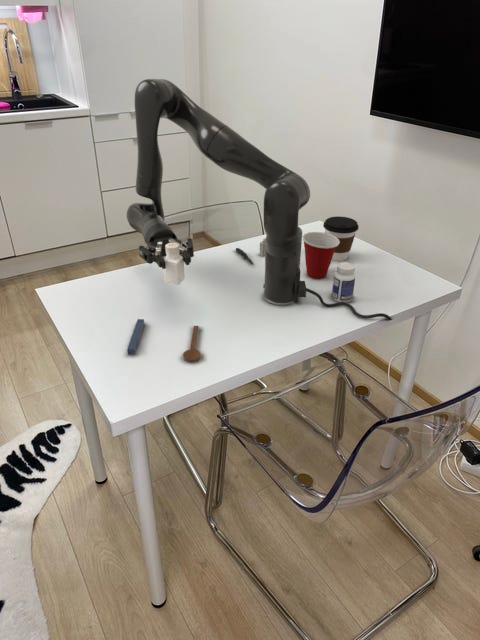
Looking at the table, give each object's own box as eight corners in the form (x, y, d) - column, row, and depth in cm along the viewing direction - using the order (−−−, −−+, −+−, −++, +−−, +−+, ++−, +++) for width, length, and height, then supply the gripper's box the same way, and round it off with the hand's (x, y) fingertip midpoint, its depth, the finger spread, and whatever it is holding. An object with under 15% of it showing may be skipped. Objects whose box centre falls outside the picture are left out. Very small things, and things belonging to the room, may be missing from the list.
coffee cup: (357, 264, 154) (362, 228, 148) (322, 264, 154) (326, 228, 148) (350, 250, 163) (355, 216, 157) (318, 250, 163) (321, 215, 157)
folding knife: (254, 267, 152) (254, 261, 151) (251, 267, 152) (251, 261, 151) (237, 251, 162) (237, 245, 161) (234, 251, 162) (234, 246, 161)
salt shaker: (163, 283, 119) (160, 247, 114) (171, 276, 122) (168, 240, 117) (178, 286, 118) (176, 249, 113) (185, 278, 121) (183, 243, 116)
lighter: (262, 256, 159) (263, 233, 154) (259, 254, 160) (259, 231, 155) (278, 250, 163) (279, 227, 158) (274, 248, 164) (275, 226, 159)
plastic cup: (334, 285, 142) (339, 247, 136) (297, 281, 144) (300, 243, 138) (336, 269, 151) (340, 232, 145) (301, 265, 153) (304, 229, 147)
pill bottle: (354, 295, 137) (359, 263, 132) (349, 305, 132) (354, 272, 127) (334, 291, 139) (338, 259, 134) (328, 300, 134) (332, 267, 129)
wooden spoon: (204, 328, 122) (204, 325, 122) (200, 362, 110) (199, 359, 110) (188, 328, 122) (188, 325, 122) (182, 362, 110) (182, 359, 110)
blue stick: (144, 324, 123) (144, 319, 123) (134, 354, 112) (134, 349, 112) (138, 324, 123) (137, 319, 123) (127, 354, 112) (127, 349, 112)
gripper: (130, 226, 124) (144, 253, 110) (184, 219, 128) (204, 244, 115) (133, 254, 128) (147, 282, 114) (186, 246, 132) (205, 272, 119)
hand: (176, 263), depth 115 cm, fingers closed on salt shaker, 5 cm apart
